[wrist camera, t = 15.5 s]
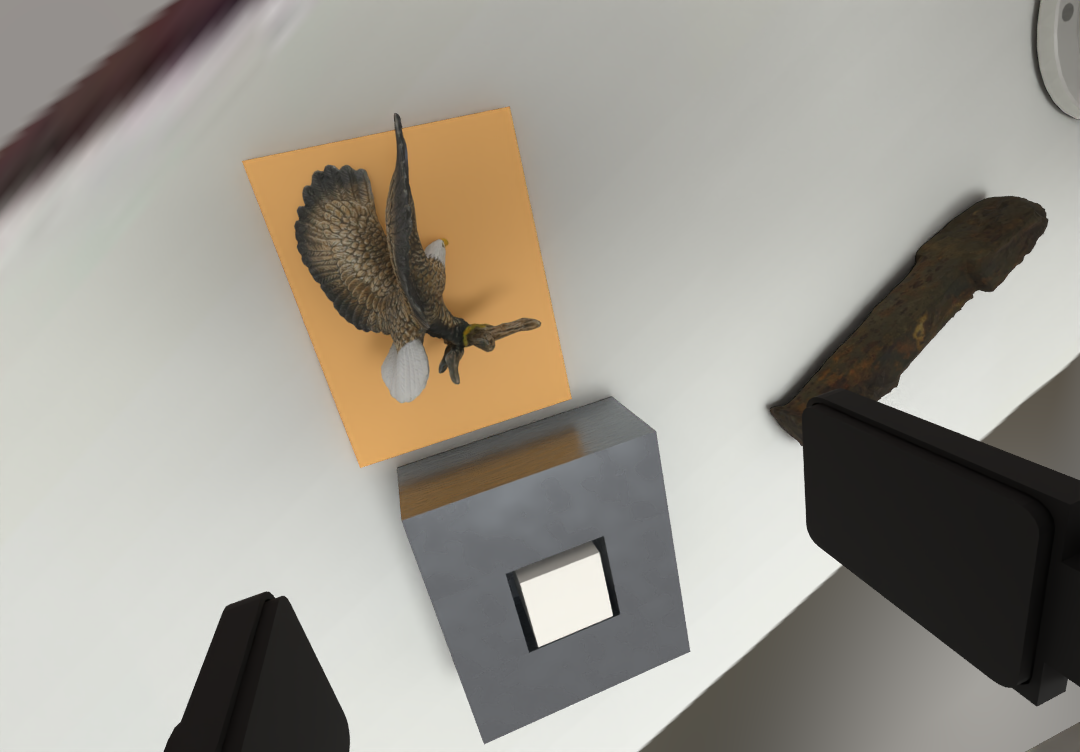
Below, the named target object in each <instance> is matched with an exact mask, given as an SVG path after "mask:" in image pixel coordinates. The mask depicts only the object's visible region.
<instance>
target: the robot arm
mask: <svg viewBox="0 0 1080 752" xmlns="http://www.w3.org/2000/svg"><path fill="white" fill-rule="evenodd" d="M1037 53H1038V60H1039V68H1040V72H1041V75H1042V78H1043V81H1044V84H1045V87H1046V89H1047V91H1048V93H1049V94H1050V96H1051V98H1052V100H1053V101H1054V103H1055V104H1056V105H1057V106H1058V107H1059V108H1060V109H1061V110H1062V111H1063V112H1064V113H1066V114H1068V115H1070V116H1072V117H1073V118H1075V119H1080V0H1041V1H1040V7H1039V15H1038V23H1037ZM802 436H803V459H804V481H805V504H806V525H807V530H808V533H809V535H810V537H811V539H812V540H813V541H814V543H815V544H817V545H818V546H819V547H820V548H821V549H823V550H824V551H825V552H826V553H828V554H829V555H830V556H832V557H833V558H834V559H836V560H837V561H838V562H839V563H841V564H842V565H843V566H845V567H846V568H847V569H849V570H850V571H851V572H852V573H854V574H855V575H856V576H858V577H859V578H860V579H862V580H863V581H864V582H865V583H867V584H868V585H869V586H871V587H872V588H873V589H875V590H876V591H877V592H879V593H880V594H881V595H882V596H884V597H885V598H886V599H888V600H889V601H890V602H891V603H893V604H894V605H895V606H897V607H898V608H899V609H901V610H902V611H903V612H905V613H906V614H907V615H908V616H910V617H911V618H912V619H914V620H915V621H916V622H917V623H919V624H920V625H922V626H923V627H924V628H925V629H927V630H928V631H929V632H930V633H932V634H933V635H935V636H936V637H937V638H938V639H940V640H941V641H942V642H944V643H945V644H946V645H947V646H949V647H950V648H951V649H953V650H954V651H955V652H957V653H958V654H959V655H960V656H962V657H963V658H964V659H966V660H967V661H968V662H969V663H971V664H972V665H973V666H975V667H976V668H977V669H979V670H980V671H981V672H983V673H984V674H985V675H987V676H988V677H989V678H990V679H992V680H993V681H995V682H996V683H998V684H1000V685H1002V686H1004V687H1008V688H1013V689H1014V690H1016V691H1017V692H1018V693H1020V694H1021V695H1022V696H1024V697H1025V698H1026V699H1028V700H1029V701H1030V702H1031V703H1033V704H1034V705H1035V706H1039V705H1041V704H1043V703H1044V702H1046V701H1048V700H1050V699H1052V698H1054V697H1056V696H1058V695H1059V694H1061V693H1063V692H1065V691H1066V685H1067V680H1068V679H1069V680H1071V681H1072V682H1074V683H1075V684H1077V685H1078V686H1079V687H1080V480H1077V479H1075V478H1072V477H1070V476H1067V475H1065V474H1062V473H1059V472H1057V471H1054V470H1052V469H1049V468H1047V467H1044V466H1042V465H1039V464H1036V463H1034V462H1031V461H1029V460H1026V459H1024V458H1021V457H1018V456H1016V455H1013V454H1011V453H1008V452H1005V451H1003V450H1000V449H998V448H995V447H993V446H990V445H988V444H985V443H982V442H980V441H977V440H975V439H972V438H970V437H967V436H964V435H962V434H959V433H957V432H954V431H952V430H949V429H946V428H944V427H941V426H939V425H936V424H934V423H931V422H928V421H926V420H923V419H921V418H918V417H916V416H913V415H910V414H908V413H905V412H903V411H900V410H898V409H895V408H892V407H890V406H887V405H885V404H882V403H880V402H877V401H875V400H872V399H869V398H867V397H864V396H862V395H859V394H857V393H854V392H851V391H849V390H846V389H841V388H840V389H835V390H832V391H829V392H827V393H824V394H821V395H818V396H815V397H812V398H811V399H810V400H809V401H808V403H807V405H806V409H804V410H803V413H802ZM349 748H350V735H349V728H348V723H347V719H346V717H345V714H344V712H343V710H342V708H341V706H340V704H339V702H338V700H337V698H336V696H335V694H334V691H333V689H332V687H331V685H330V683H329V681H328V679H327V677H326V675H325V673H324V671H323V669H322V667H321V665H320V663H319V661H318V659H317V657H316V655H315V653H314V651H313V649H312V647H311V645H310V642H309V640H308V638H307V636H306V634H305V632H304V630H303V628H302V626H301V624H300V622H299V620H298V618H297V616H296V614H295V612H294V610H293V608H292V606H291V604H290V602H289V600H288V599H287V598H286V597H285V596H281V597H278V598H275V597H274V596H273V595H272V594H271V593H270V592H267V591H266V592H263V593H260V594H258V595H255V596H252V597H249V598H246V599H244V600H241V601H238V602H235V603H232V604H229V605H228V606H226V607H225V609H224V611H223V613H222V615H221V618H220V621H219V623H218V626H217V629H216V631H215V634H214V636H213V639H212V642H211V644H210V647H209V649H208V652H207V655H206V657H205V660H204V663H203V665H202V668H201V670H200V673H199V676H198V678H197V681H196V684H195V686H194V689H193V691H192V694H191V697H190V699H189V702H188V704H187V707H186V710H185V712H184V715H183V718H182V720H181V722H180V723H179V724H178V725H177V726H176V727H175V728H174V730H173V732H172V734H171V736H170V738H169V739H168V742H167V744H166V747H165V750H164V752H349ZM1026 752H1080V722H1079V723H1077V724H1075V725H1073V726H1071V727H1070V728H1068V729H1066V730H1064V731H1062V732H1060V733H1059V734H1057V735H1055V736H1053V737H1052V738H1050V739H1048V740H1046V741H1044V742H1042V743H1041V744H1039V745H1037V746H1035V747H1033V748H1031V749H1029V750H1028V751H1026Z"/></svg>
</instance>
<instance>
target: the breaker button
mask: <svg viewBox="0 0 1080 752" xmlns="http://www.w3.org/2000/svg"><path fill="white" fill-rule="evenodd" d="M512 574H513V577H514V580H515V584H516V587H517V591H518V594H519V597H520V599H521V602H522V605H523V607H524V610H525V613H526V615H527V618H528V620H529V623H530V626H531V628H532V631H533V634H534V636H535V639H536V642H537V644H538V647H540V646H543V645H545V644H547V643H550V642H552V641H555V640H557V639H559V638H562V637H564V636H566V635H569V634H571V633H574V632H576V631H578V630H581V629H583V628H585V627H588V626H590V625H593V624H595V623H597V622H600V621H602V620H604V619H607V618H609V617H612V616H613V614H612V609H611V604H610V600H609V595H608V591H607V586H606V581H605V577H604V572H603V567H602V563H601V558H600V554H599V551H598V550H597V548H596V547H595V545H594V544H593V542H592V541H589V542H587V543H584V544H581V545H579V546H576V547H574V548H571V549H569V550H566V551H563V552H561V553H558V554H556V555H553V556H550V557H548V558H545V559H543V560H540V561H538V562H535V563H532V564H530V565H527V566H525V567H522V568H519V569H517V570H514V571H512Z"/></svg>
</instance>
